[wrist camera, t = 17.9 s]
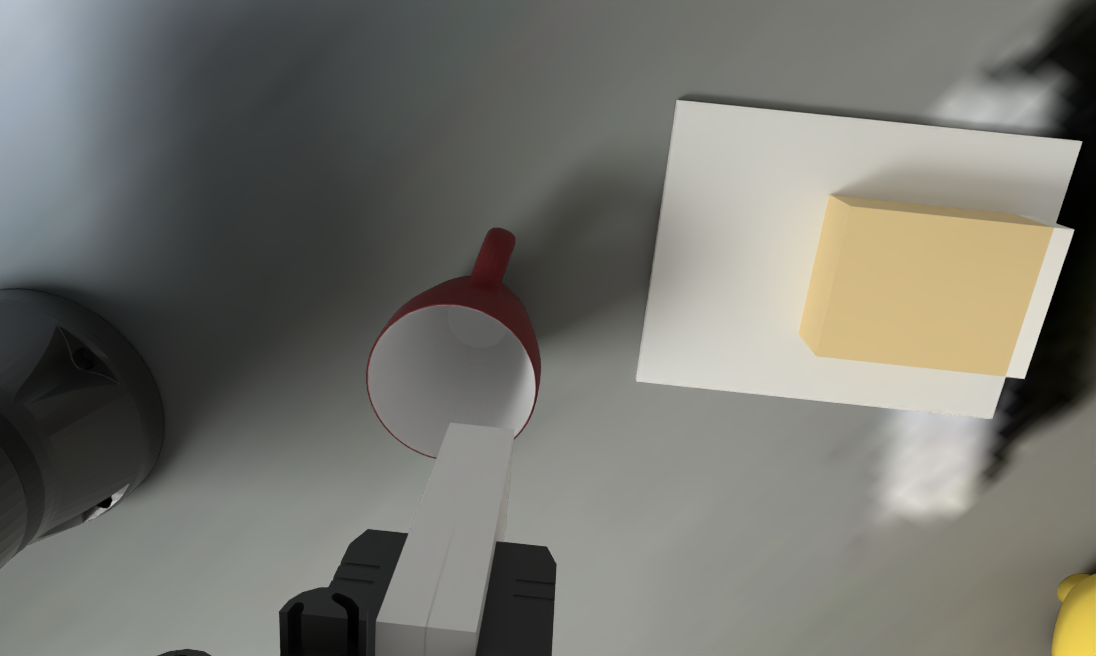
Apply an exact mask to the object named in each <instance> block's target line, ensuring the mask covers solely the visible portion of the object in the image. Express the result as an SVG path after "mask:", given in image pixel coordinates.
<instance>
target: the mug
mask: <svg viewBox="0 0 1096 656" xmlns="http://www.w3.org/2000/svg"><path fill="white" fill-rule="evenodd" d="M514 245H515V237H514V235H513V234H512V233H511V232H509V231H507V230H505V229H502V228H493V229H491V230H489V232H488V233H487V235H486V237H485V239H484V242H483V244H482V247H481V249H480V252H479V255H478V258H477V260H476V263H475V266H474V269H473V272H472V275H471V276H464V277H458V278H454V279H451V280H448V281H445V282H443V283H441V284H439V285H437V286H435V287H433V288H431V289H429V290H427V291H425V292H423V293H421V294H419V295H417V296H416V297H414V298H413V299H411V300H410V301H408V302H407V303H406V304H405V305H404V306H402V307H401V308H400V309H399V310H398V311H397V312H396V313H395V314H394V316H393V317H392V318H391V319H390V321H389V322H388V323H387V325H386V326H385V327H384V329H383V330H382V332H381V333H380V335H379V337H378V338H377V340H376V342H375V343H374V346H373V348H372V350H371V353H370V356H369V359H368V364H367V372H366V383H367V391H368V395H369V399H370V402H371V405H372V407H373V409H374V411H375V413H376V415H377V417H378V419H379V420H380V422H381V423H382V424H383V426H384V427H385V428H386V429H387V430H388V432H389V433H390V434H391V435H393V436H394V437H395V438H396V439H397V440H398V441H400V442H401V443H402V444H404V445H405V446H407V447H408V448H410V449H412V450H414V451H416V452H418V453H420V454H422V455H425V456H428V457H431V458H435V459H437V456H438V453H439V451H440V448H441V445H442V443H443V440H444V437H445V435H446V432H447V429H448V427H449V424H450V423H459V424H468V425H478V426H487V427H496V428H506V429H515V431H514V439H515V438H516V437H517V436H518V435H519V434H520V433H521V432H522V430H523V429H524V428H525V426H526V425H527V423H528V421H529V419H530V417H531V415H532V413H533V410H534V407H535V404H536V400H537V395H538V390H539V384H540V375H541V359H540V352H539V347H538V343H537V340H536V337H535V334H534V331H533V328H532V325H531V322H530V319H529V316H528V314H527V312H526V310H525V308H524V306H523V305H522V303H521V302H520V300H519V299H518V298H517V297H516V296H515V295H514V294H513V293H512V292H511V291H510V290H509V289H508V288H507V287H506V286H504V285H503V284H502V283H501V282H502V279H503V276H504V273H505V270H506V267H507V264H508V261H509V258H510V256H511V253H512V251H513V248H514Z"/></svg>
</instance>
